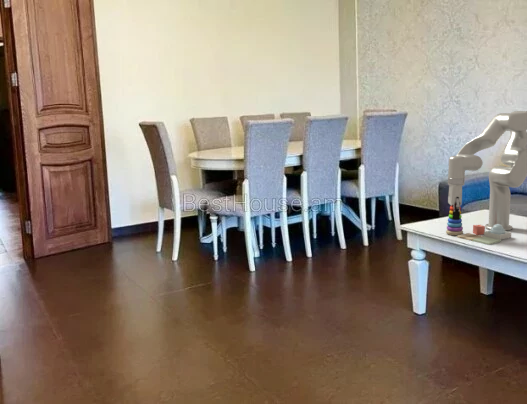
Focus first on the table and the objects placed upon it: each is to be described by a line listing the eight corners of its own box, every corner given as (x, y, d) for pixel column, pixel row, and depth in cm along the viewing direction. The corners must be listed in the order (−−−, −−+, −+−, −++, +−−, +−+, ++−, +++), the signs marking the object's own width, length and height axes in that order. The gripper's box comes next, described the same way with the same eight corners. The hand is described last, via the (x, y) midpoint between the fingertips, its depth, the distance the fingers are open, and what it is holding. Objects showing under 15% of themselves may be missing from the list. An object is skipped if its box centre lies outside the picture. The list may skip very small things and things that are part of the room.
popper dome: (488, 234, 259) (488, 223, 258) (495, 232, 262) (496, 222, 261) (499, 237, 254) (499, 226, 253) (507, 235, 257) (507, 224, 256)
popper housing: (483, 237, 259) (484, 231, 259) (494, 234, 264) (495, 229, 263) (499, 240, 252) (500, 235, 252) (511, 237, 257) (511, 232, 256)
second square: (472, 241, 253) (472, 239, 253) (484, 238, 257) (484, 236, 257) (488, 244, 246) (488, 243, 246) (500, 241, 250) (500, 240, 250)
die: (472, 232, 268) (473, 224, 267) (480, 232, 268) (481, 223, 267) (476, 234, 264) (477, 226, 263) (484, 234, 264) (485, 225, 263)
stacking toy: (442, 233, 268) (443, 196, 265) (453, 231, 272) (454, 194, 269) (455, 236, 261) (455, 198, 258) (466, 234, 265) (467, 196, 262)
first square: (456, 237, 260) (456, 235, 260) (468, 234, 265) (468, 233, 265) (471, 240, 253) (472, 239, 253) (483, 238, 258) (483, 236, 258)
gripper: (445, 179, 271) (444, 214, 274) (451, 184, 254) (449, 221, 257) (461, 179, 270) (459, 214, 273) (467, 184, 253) (466, 222, 256)
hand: (454, 217), depth 265 cm, fingers closed on stacking toy, 6 cm apart
